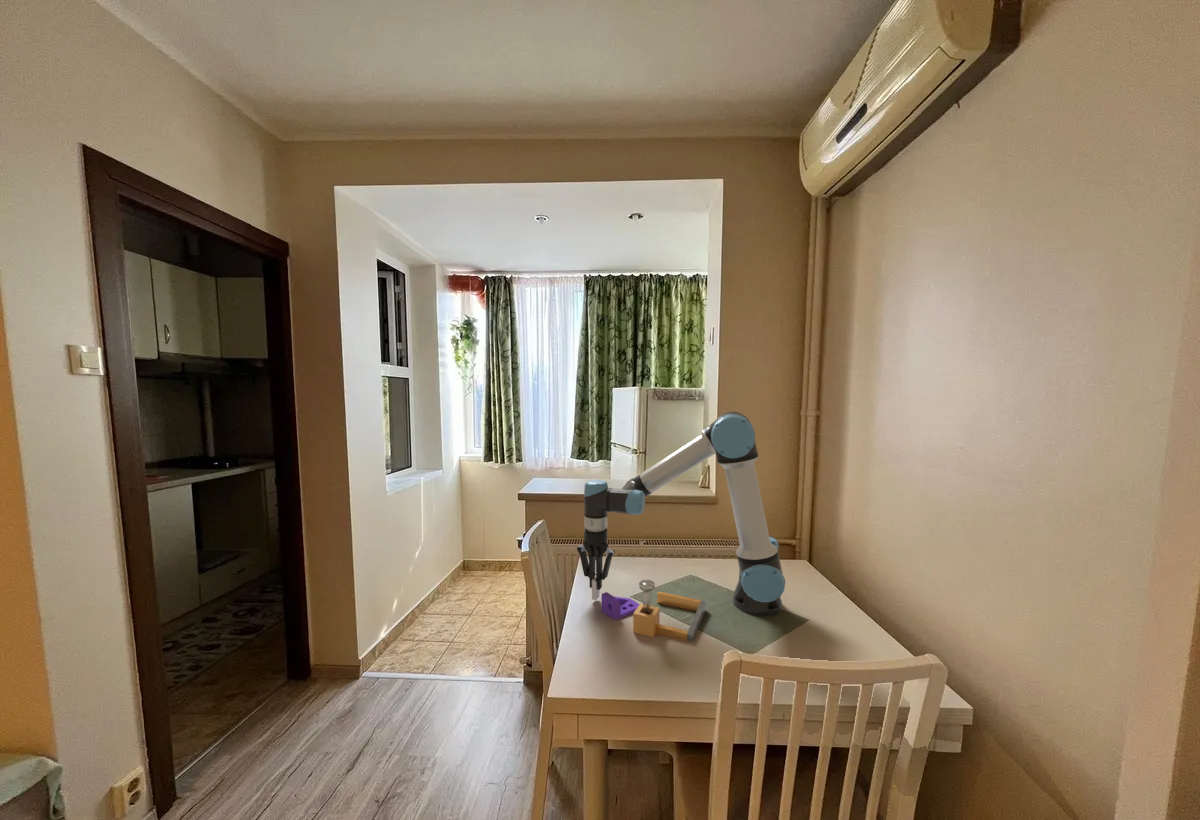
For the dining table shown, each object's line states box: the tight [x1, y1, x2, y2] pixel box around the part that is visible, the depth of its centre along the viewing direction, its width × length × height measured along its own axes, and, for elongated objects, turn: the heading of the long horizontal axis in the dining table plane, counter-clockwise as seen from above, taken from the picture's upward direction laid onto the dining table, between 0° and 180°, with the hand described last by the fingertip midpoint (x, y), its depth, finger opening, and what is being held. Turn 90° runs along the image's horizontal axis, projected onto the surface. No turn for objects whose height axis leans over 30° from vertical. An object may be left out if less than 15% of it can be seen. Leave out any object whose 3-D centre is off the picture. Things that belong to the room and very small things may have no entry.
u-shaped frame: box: [655, 591, 707, 643], centre depth 132 cm, size 16×20×4 cm
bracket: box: [600, 591, 641, 621], centre depth 138 cm, size 12×7×7 cm, turn 128°
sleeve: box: [632, 603, 661, 638], centre depth 126 cm, size 6×6×7 cm
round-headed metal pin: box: [638, 579, 656, 615], centre depth 126 cm, size 4×4×9 cm
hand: (595, 597), depth 144 cm, fingers closed
